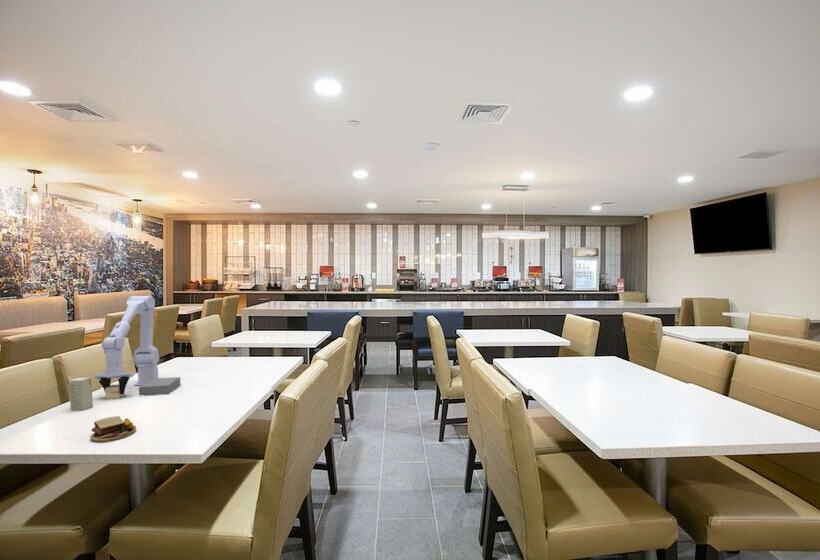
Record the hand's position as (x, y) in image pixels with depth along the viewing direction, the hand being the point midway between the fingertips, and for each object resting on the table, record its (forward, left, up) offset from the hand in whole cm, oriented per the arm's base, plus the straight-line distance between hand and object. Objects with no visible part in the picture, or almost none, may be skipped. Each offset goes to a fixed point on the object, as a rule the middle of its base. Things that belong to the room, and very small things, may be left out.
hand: (115, 393), depth 175 cm
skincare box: (+13, -6, -2) cm, 14 cm away
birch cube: (0, 0, -1) cm, 1 cm away
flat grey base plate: (-6, +16, -1) cm, 17 cm away
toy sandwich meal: (+46, +21, -2) cm, 51 cm away
